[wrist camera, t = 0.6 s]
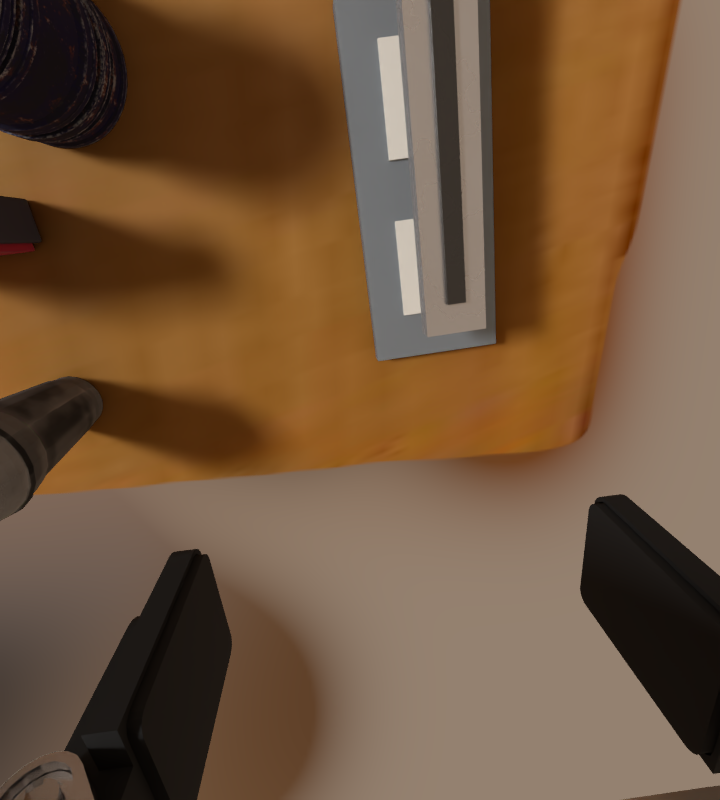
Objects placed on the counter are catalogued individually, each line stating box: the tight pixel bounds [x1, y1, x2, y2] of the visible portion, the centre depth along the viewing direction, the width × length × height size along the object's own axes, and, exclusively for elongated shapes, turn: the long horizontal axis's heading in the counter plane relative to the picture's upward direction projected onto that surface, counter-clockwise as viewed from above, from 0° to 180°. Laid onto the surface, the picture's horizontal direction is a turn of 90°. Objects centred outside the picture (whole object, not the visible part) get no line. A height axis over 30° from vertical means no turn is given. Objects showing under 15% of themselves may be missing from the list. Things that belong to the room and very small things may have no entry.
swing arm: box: [396, 0, 486, 337], centre depth 24 cm, size 26×4×2 cm, turn 8°
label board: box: [333, 0, 496, 361], centre depth 29 cm, size 28×10×6 cm, turn 8°
